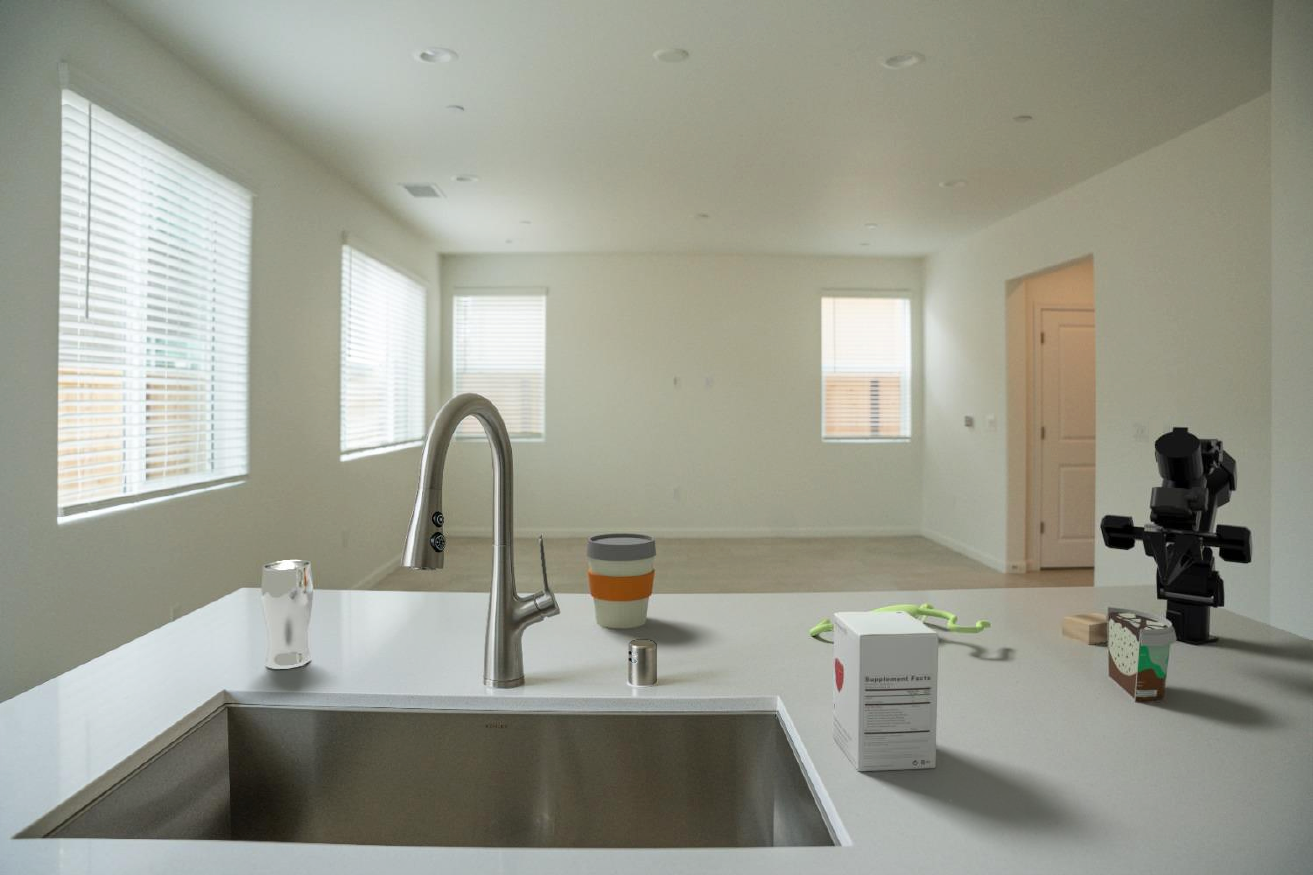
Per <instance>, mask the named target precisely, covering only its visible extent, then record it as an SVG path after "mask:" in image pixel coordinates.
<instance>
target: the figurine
mask: <svg viewBox="0 0 1313 875" xmlns="http://www.w3.org/2000/svg"><path fill="white" fill-rule="evenodd" d="M888 611H905V612H906V613H908V614H909V615H911V616H912V617H914V618H915V619H918V618H919V617H920V616H922V618H921V620H920V621H921V622H923V623H924V621H925V620H926V619H927V618H928V617H933V618H939V619H940V618H941V619H944V620H948V622H947V626H946V627H947V629H948V630H949V631H950V632H954V633H958V634H959V633H960V634H961V633H962V634H978V633H981V632H982V631H984V629H985V628H987V629H989V628H991V623H990V621H989V620H978V621H976V623H975V626H974V627H973V626H961V625H957V624H956V623H957V622H958V616H957V615H956V614H953V613H951V612H949V611H943V610H939V609H934V604H929V603H923V604H922V605H920V606H918V605H916V604H896V605H888V606H885V607H880V608H877V609H876V608H875V609H873V610H870V611H868V612H888ZM831 630H834V623H833V624H832V623H831V619H829V618H828V617H826V618H825V619H823V620H822V621H821V622H819V624H817V625H816V626H814V627H813V628H811V629H810V630H809V634H810V636H812V637H815V636H816V635H820V634H822V633H824V632H825V633H826V632H828V631H831Z"/></svg>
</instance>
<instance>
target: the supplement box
mask: <svg viewBox="0 0 1313 875" xmlns="http://www.w3.org/2000/svg"><path fill="white" fill-rule="evenodd" d="M921 621H922V620H919V619H918V618H916V619H915V618H914V617H912V616H911V615H909V614H908V613H906V612H905V611H888V612H869V611H839V612H834V613H833V625H834V629H833V676H832V677H833V678H832V679H833V683H832V684H833V685H832V686H833V688H832V689H833V694H832V695H833V698H832V700H833V702H832V703H833V704H832V705H833V706H832V712H833V713H832V737H833V739H834V740H835V741H836V743H837V744H838V745H839V747H840V748H841V749H842V751H843V753H844V754H845V755H846V757H847V758H848V759H849V761H850V762H851V763H852V764H853V766H854V768H855V769H856V770H857V771H858V772H872V771H873V772H877V771H878V772H879V771H898V770H899V771H900V770H901V771H902V770H921V769H924V770H925V769H935V768H936V766H937V765H936V764H937V763H936V759H937V723H938V722H937V718H938V714H937V713H938V676H939V674H938V673H939V672H938V671H939V670H938V669H939V633H938V632H936V631H935V630H933V629H932V628H930V627H929V626H927V625H926V624H925V623H924V621H923V622H921Z"/></svg>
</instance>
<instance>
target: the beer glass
mask: <svg viewBox="0 0 1313 875" xmlns="http://www.w3.org/2000/svg"><path fill="white" fill-rule="evenodd" d="M312 572H313V571H312V562H311V561H309V560H303V559H290V560H280V561H272V562H269V563H265V564H263V565H262V574H261V575H262V576H261V589H260V590H261V596H260V598H261V608H262V612H263V617H264V622H265V627H266V631H267V632H266V633H267V638H268V650H267V657H266V661H265V662H267V663H268V664H270V665H276V666H286V665H287V666H288V665H294V664H298V663H302V662H304V661H308V660H309V659H310V658H311V659H312V657H311V652H310V646H309V638H308V634H309V626H310V622H311V621H310V619H311V615H312V610H313V609H312V608H313V601H314V600H313V599H314V585H313V584H314V582H313V574H312Z"/></svg>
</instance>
